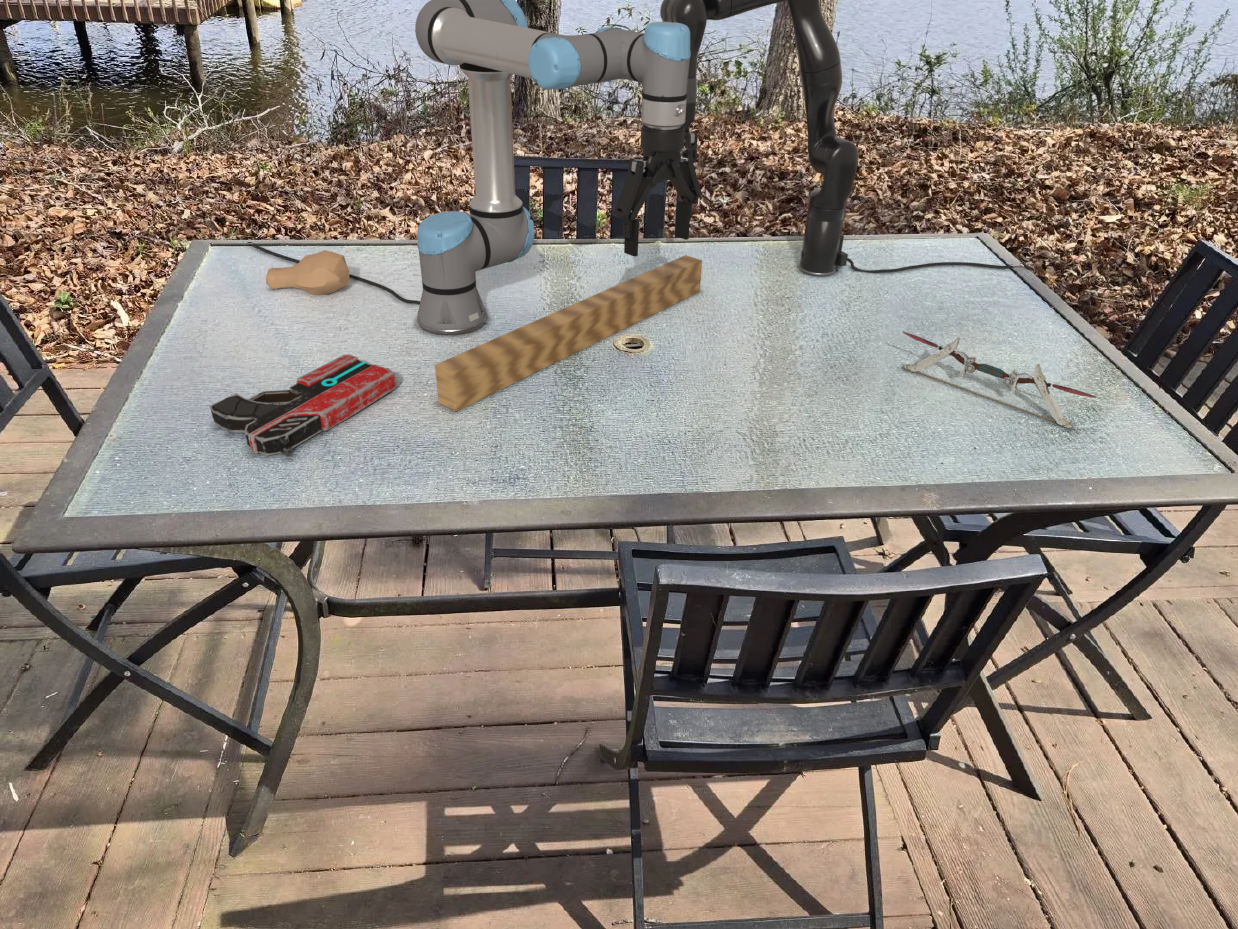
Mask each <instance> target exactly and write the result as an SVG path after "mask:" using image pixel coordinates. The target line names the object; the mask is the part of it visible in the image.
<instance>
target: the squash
mask: <svg viewBox="0 0 1238 929" xmlns="http://www.w3.org/2000/svg"><path fill="white" fill-rule="evenodd" d="M299 260H300V262H299V263H296V264H293V265H292V266H286V267H285V266H284V267H271V268H268V270H267V272H266V275H265V284H266V285H267V286H268V287H269V288H270V289H271V290H276V289H282V288H283V289H284V288H296V289H300V290H303V291H305V292H307V293H309V294H312V295H315V296H319V295H320V296H321V295H330V294H332V293H334V292H336V291H338V290H340V289H342V288H344V287H346V286H348V285H349V284H350V277H349V274H350V269H349V267H348V263H347V261H346V258H345V255H343V254H340V253H337V252H334V251H330V250H322V251H319V252H316V253H312V254H307V255H305V256H304V257H302V258H301V259H299Z"/></svg>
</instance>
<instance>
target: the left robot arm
mask: <svg viewBox="0 0 1238 929" xmlns="http://www.w3.org/2000/svg"><path fill="white" fill-rule="evenodd" d="M414 28H415V29H414V33H415V39H416V41H417V44H418V47H419V48H420V50H421V51H422V52H423V54H425V55H426V56H427V57H428V59H431V60H432V61H435V62H436V63H439V64H445V65H448V66H459V70H460V71H461V72H462V73H463V74H464V75H465V76H466V78H467V86H468V102H469V116H470V117H469V118H470V130H471V131H470V132H471V146H472V158H473V159H472V161H473V174H474V175H473V176H474V189H475V194H474V196H473V197H472V198H471V200H470V201H469V203H468V206H469V214H468V213H466V212H464V211H458V210H450V211H441V212H436V213H434V214H432V215H429V216H427V217H426V218H424V219H423V220H422V221H421V222H420V224H418V227H417V230H416V233H417V238H416V239H417V242H416V246H417V250H418V258H419V267H420V275H421V276H420V277H421V284H422V292H421V297H420V300H413V299H408V298H405V297H403V296H401V295H399V293H396V291H394V290H393V289H392V288H390V287H387V286H385V285H383V284H380V283H378V282H375V281H372V280H369V279H366V278H363V277H360V276H357V275H354V274H350V273H349V279H353V280H356V281H360V282H362V283H364V284H365V283H366V284H369V285H371V286H374V287H376V288H380V289H381V290H384V291H386V292H388V293H390V294H391V295H392V296H394V297H395V299H398V300H399V301H400V302H403V303H406V304H413V305H418V310H417V317H416V318H417V325H418V326H419V328H420V329H421V330H423V331H424V332H427V333H430V334H433V335H440V336H459V335H465V334H469V333H473V332H476V331H477V330H480V329H481V328H483V327H484V326H485V325H486V323H487V320H488V316H487V310H486V306H485V304H484V302H483V299H482V298H481V295H480V293H479V291H478V288H477V278H476V277H477V276H476V272H479V271H483V270H486V269H489V268H492V267H496V266H499V265H503V264H506V263H512V262H514V261H515V260H518V259H521V258H523V257H525V256H526V255H527V254H528V253H529V252H530V251H531V249H532V247H533V244H534V241H535V233H536V232H535V223H534V221H533V219H531V217H532V215H531V213H530V211H529V210H528V209H527V208H526V207H524V206H523V201H522V200H521V199H520V197H519V196H517V194H516V183H515V182H516V180H515V157H514V155H515V154H514V132H513V108H512V107H513V106H512V85H511V83H512V81H511V78H512V76H513V75H516V76H519V77H523V78H527V79H532V80H533V82H535V83H536V84H537V85H538V87H539V88H541V89H543V90H558V91H560V90H561V91H562V90H565V89H568V88H574V87H580V86H585V85H591V84H599V83H604V82H611V81H617V80H627V81H630V82H637V83H640V84H642V88H641V89H642V90H641V91H642V92H641V114H640V121H641V122H642V126H641V127H640V147H641V149H642V151H643V155H642V159H636V158H632V157H631V158H630V159H629V160H628V168H627V174H626V177H625V180H624V182H623V185H622V188H621V191H620V194H619V197H618V200H617V202H616V205H615V208H614V211H613V215H614V216H615V217H617V218H620V219H622V237H623V238H624V240H623V241H624V243H623V245H624V248H623V249H624V250H623V253H624V254H626V255H629V256H631V257H634V258H636V257H638V256H639V236H640V235H639V233H640V219H639V218H637V217H638V216H639V213H640V211H641V210H642V207H643V206H644V204H645V202H646V200H647V198H648V196H649V195H650V193H651V192H652V191H651V190H652V189H653V188H655V187H656V186H657V184H658V183H662V182H664V181H669V182H670V184H671V185H672V187H673V188H674V190H675V192H676V193H677V196H678V197H679V198H680V200H678V201H677V203H676V204H677V205H676V216H675V217H676V219H675V233H674V236H675V237H676V238H680V239H683V240H684V241H685V240H686V241H687V240H689V239H690V226H691V220H692V217H693V216H692V214H693V205H697V204H698V202H699V198H701V197H702V194H703V193H702V190H701V186H700V182H699V179H698V174H697V171H696V168H695V164H694V162H693V151H692V149H688V148H685V146H684V138H685V128H684V127H683V126H682V125H683V124H684V123H685V116H686V99H687V84H688V73H689V62H690V57H691V52H690V30H689V28H688V27H687V26H686V25H684V24H681V23H672V22H663V21H653V22H649V23H647V24H646V25H645V27H644V32H638V31H633V30H628V29H624V28H622V27H619V26H618V27H617V26H615V27H607V26H605V27H601V28H599V29H597V30H596V31H595V32H592V33H591V32H590V33H585V34H573V35H569V34H567V35H566V34H560V33H554V32H551V31H545V30H540V29H535V28H530V27H529V25H528V21H527V18H526V16H525V13H524V11H523V9H522V8H521V7H520V5H519V3H518V2H517V1H516V0H429V1H427V2H426V3H425V4H424V5H423V6H422V7H421V9H420V11H419V12H418V14H417V17H416V20H415V26H414ZM679 167H680V169H681V170H680V169H679ZM682 176H683V177H682ZM248 243H253V242H252V241H250V242H248V241H247V244H248ZM250 246H251V247H253V248H255V249H257V250H259V251H262V252H264V253H267V254H269V255H271V256H273V257H278V258H280V259H283V260H286V261H289V262H293V263H296V264H298V263H299V262H300V260H301V259H296V258H293V257H290V256H286V255H283V254H280V253H277V252H274V251H272V250H270V249H267V248H265V247H262V246H260V245H258V244H255V243H254V244H253V245H250Z"/></svg>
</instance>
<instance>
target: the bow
mask: <svg viewBox="0 0 1238 929" xmlns="http://www.w3.org/2000/svg"><path fill="white" fill-rule="evenodd" d="M901 333H903V334H904V335H906V336H908V337H910V338H911V339H913V340H915V341H918V342H920V343H922V344H925V345H927V346H930V347H933V348H936V349H938V350H939V351H938V353H934V354H931V355H929V356H927V357H925V358H924V359H922V360H921V361H919V362H918V363H917V364H910V363H907V364H905V365H903V368H904V370H907V371H909V372H913V373H918V374H920V375H924V376H926V377H930V378H931V379H935V380H937V381H940V382H943V383H946V384H948V385H951V386H954V387H957V388H960V389H963V390H965V391H968V392H971V393H973V394H976V395H980V396H982V397H985V398H986V399H987V398H988V399H990V400H993V401H996V402H999V403H1002V404H1004V405H1007V406H1009V407H1012V408H1015V409H1018V410H1020V411H1023V412H1026V413H1029V414H1032V415H1034V416H1037V417H1040V418H1043V419H1046V420H1049V421H1051V422H1054V423H1056V424H1058V425H1060V426H1061V427H1063V428H1067V429H1071V428H1073V427H1074V425H1075V424H1074V423H1072V421H1070V420H1068V419H1067V418H1065V417H1064V416H1063V413H1062V410H1061V407H1060V406H1059V404H1058V401H1057V399H1056V398H1055V397H1054V395H1053V394H1052V393H1051V391H1050V389H1049V388H1050V387H1051V386H1052V388H1054V389H1057V390H1059V391H1063V392H1066V393H1068V394H1073V395H1077V396H1081V397H1087V398H1094V399H1096V398H1097V396H1096V395H1092V394H1090V393H1087V392H1084V391H1082V390H1079V389H1075V388H1073V387H1072V388H1071V387H1068V386H1065V385H1060V384H1055V383H1050V382H1048V381H1047V378H1046V376H1045V374H1044V373H1043V371H1042V368H1041V364H1040V363H1037V364H1036V365H1035V366H1034V369H1033V373H1032V375H1031V374H1029V373H1026V372H1022V373H1019V372H1017V370H1015V369H1014V370H1012V371H1011V372H1010V373H1007V372H1006V371H1005V370H1003V369H1002V368H999V367H996V366H994V365H991V364H988V363H977V362H976V361H977V357H976V356H974V357H973V356H970V357H969V356H968V354H967V353H965V352H964V351H961V350H956V349H957V348H958V347H959V344H960V340H961V337H957V338H956V339H954V340H953V341H952V342H951V343H947V344H946V345H945V346H944V347H943V346H941V345H938V344H937V343H935V342H932V341H930V340H928V339H925V338H923V337H921V336H917V335H914V334H912V333H909V332H905V331H903V330H902V332H901ZM951 356H952V357H953V358H954V359H955V360H956V361H957V362H959V363H960V364H962V365H963V366H962V369H961V370H960V373H959V374H958V376H960V377H964V376H966V373H968V374H973V373H975V371H979V372H981V373H984V374H987V375H990V376H993V377H995V378H998V379H1002V383H1003V385H1004V386H1006V387H1011V388H1010V394H1011V395H1015V394H1017V393H1018V384H1033V385H1034V386H1035V388H1036V389H1037V391H1038V392H1039V394H1040V396H1041V397H1042V399H1043V402H1044V404H1045V406H1046V408H1047V409H1048V412H1049V414H1050V415H1051V417H1052V418H1053V419H1051V418H1048V417H1046V416H1043V415H1040V414H1038V413H1034V412H1032V411H1029V410H1026V409H1023V408H1021V407H1018V406H1015V405H1012V404H1009V403H1007V402H1004V401H1001V400H998V399H995V398H993V397H991V396H988V395H984V394H982V393H979V392H976V391H973V390H971V389H968V388H965V387H963V386H960V385H956V384H954V383H951V382H949V381H946V380H943V379H941V378H938V377H935V376H932V375H929V374H927V373H924V372H921V371H922V370H924V369H925V370H926V369H928V368H929V367H931V366H933V365H934V364H936V363H938V362H940V361H942V360H944V359H947V358H949V357H951Z"/></svg>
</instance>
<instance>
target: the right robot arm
mask: <svg viewBox="0 0 1238 929" xmlns="http://www.w3.org/2000/svg"><path fill="white" fill-rule="evenodd" d="M783 2H787V6H788V10H789V14H790V17H791V21H792V27H793V33H794V34H793V35H794V40H795V46H796V47H795V48H796V52H797V60H798V69H799V76H800V84H801V89H802V95H803V102H804V110H805V117H806V128H807V153H808V154H807V155H808V161H809V164H810V166H811V168H812V169H813V170H814V171H815V172H817V173H818V174H820V175H823V176H824V177H823V181H822V186H821V187H819V188H814V189H813V190H812V191H810V194H809V198H808V205H807V212H806V219H805V227H804V234H803V240H802V241H803V242H802V245H801V246H802V247H801V250H800V260H799V264H798V269H799V271H801V273H804V274H806V275H810V276H816V277H827V276H831V275H834V274H836V272H838V271H839V270H840V267H846V266H847V263H849V265H850V268H851V269H852V270H854V271H855V272H859V273H860V272H861V273H867V274H868V273H869V274H881V273H897V272H902V271H906V270H913V269H920V268H926V267H937V266H972V267H981V268H990V269H999V270H1001V269H1002V270H1003V269H1005V270H1006V269H1012V268H1014V267H1013V266H1007V265H999V264H988V263H980V262H966V261H964V262H963V261H945V262H944V261H943V262H941V261H940V262H930V263H923V264H915V265H909V266H902V267H898V268H887V269H886V268H885V269H884V268H883V269H872V270H868V269H867V270H866V269H861V268H858V267H856V266H855V264H854V261H853V260H852V259H851V258H850V257H849V254H848V253H846V252H845V251H843V245H844V238H845V236H844V234H842V232H843V227H844V221H845V215H846V210H847V203H848V200H849V198H850V197H851V194H852V192H853V188H854V184H855V178H856V174H857V170H858V166H859V157H860V156H859V149H858V146H857V145H856V144H855V143H854V142H852V141H851V140H848V139H845V138H842V137H839V136H838V133H837V130H836V124H835V113H834V112H835V106H836V103H837V100H838V99H839V96H840V93H841V89H842V87H843V86H842V85H843V71H842V70H843V69H842V62H841V54H840V50H839V46H838V44H837V42H836V40H835V37H834V35H833V33H832V31H831V30H830V28H829V26H828V23H827V22H826V19H825V18H824V15H823V12H822V8H821V4H820V0H663V1H662V2H661V5H660V8H659V15H660V19H661V22H672V23H681V24H684V25H686V26H687V27H688V28H689V30H690V52H691V57H690V62H689V73H688V84H687V99H686V116H685V123H684V124H683V125H682V126H683V127H684V128H685V138H684V147H685V148H688V149H692V151H693V163H696V162H697V160H698V140H699V139H698V138H699V134H698V132H691V131H690V125H691V124H693V123H694V122H695V120H696V107H697V93H698V83H697V76H698V74H697V73H698V60H699V58H698V57H699V52H700V49H701V46H702V43H703V39H704V36H705V31H706V27H707V23H708V21H722V20H726V19H728V18H732V17H734V16H735V17H736V16H738V15H742V14H744V13H747V12H750V11H754V10H756V9H760V8H763V7H767V6H771V5H774V4H779V3H783ZM678 167H679V169H680V166H678ZM680 170H681V169H680ZM682 177H683V176H682ZM1020 264H1023V265H1024V267H1023V268H1025V269H1026V270H1028V271H1031V267H1029V265H1028V264H1026V263H1022V262H1021V263H1020Z"/></svg>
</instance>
